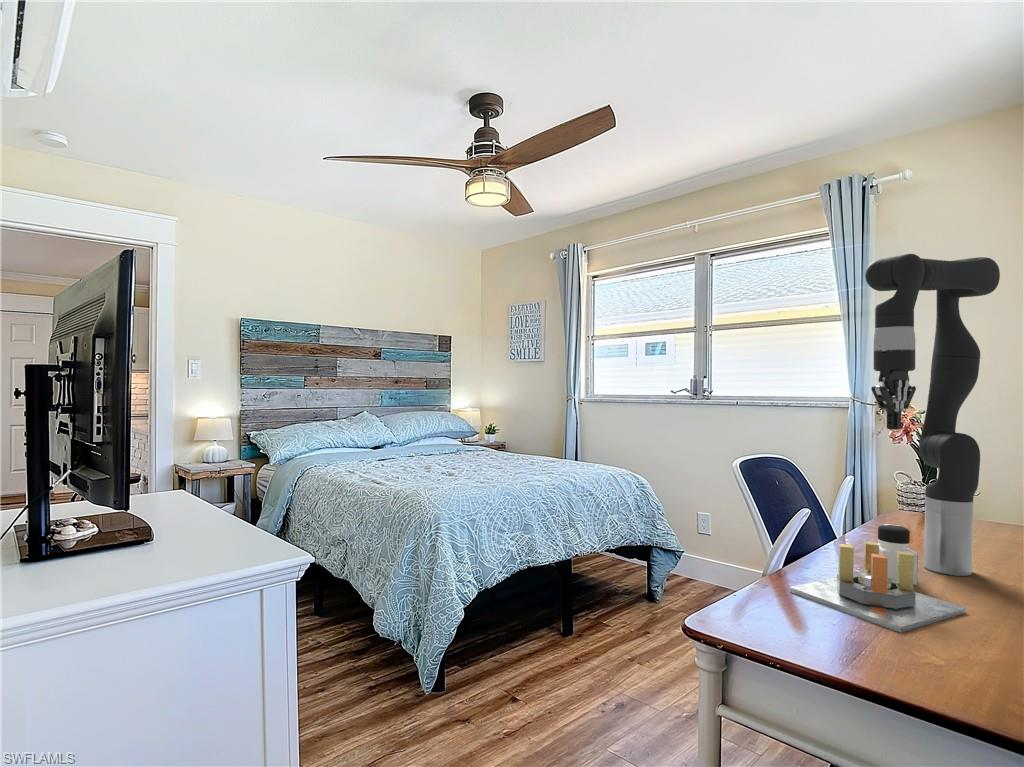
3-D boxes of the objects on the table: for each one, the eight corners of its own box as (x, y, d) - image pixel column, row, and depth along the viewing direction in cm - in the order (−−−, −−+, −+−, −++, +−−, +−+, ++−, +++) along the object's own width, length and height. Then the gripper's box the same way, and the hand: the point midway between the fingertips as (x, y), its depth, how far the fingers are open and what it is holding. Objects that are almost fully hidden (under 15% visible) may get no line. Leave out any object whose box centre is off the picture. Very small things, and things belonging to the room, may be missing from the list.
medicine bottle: (917, 585, 127) (918, 531, 127) (882, 582, 128) (883, 528, 128) (902, 575, 134) (903, 523, 134) (869, 572, 135) (870, 521, 135)
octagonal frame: (823, 587, 120) (824, 543, 120) (867, 581, 125) (868, 539, 125) (881, 610, 108) (882, 561, 108) (928, 603, 112) (929, 555, 113)
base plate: (853, 577, 131) (854, 555, 131) (965, 612, 112) (966, 586, 112) (789, 591, 121) (790, 568, 121) (900, 632, 101) (901, 604, 101)
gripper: (893, 350, 130) (893, 427, 130) (858, 348, 124) (857, 429, 124) (930, 349, 124) (929, 429, 124) (894, 347, 118) (894, 431, 118)
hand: (893, 429), depth 124 cm, fingers closed
